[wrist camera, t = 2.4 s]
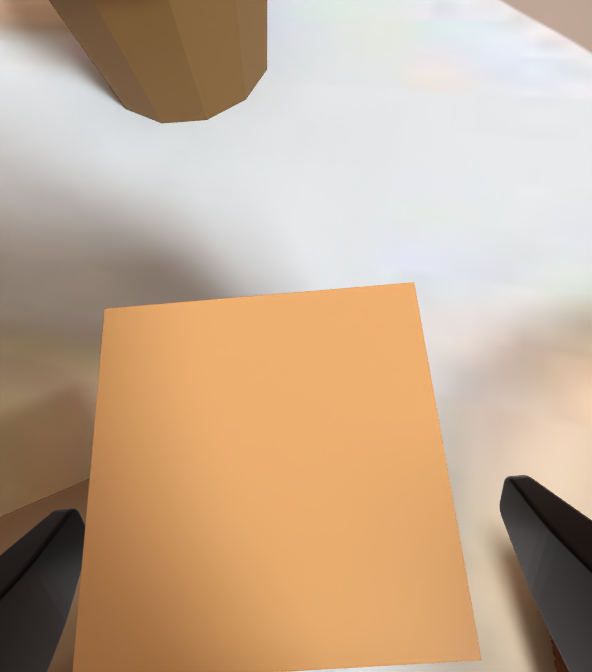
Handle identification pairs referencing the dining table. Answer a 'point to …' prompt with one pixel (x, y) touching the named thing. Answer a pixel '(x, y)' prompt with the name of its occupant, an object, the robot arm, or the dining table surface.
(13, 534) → the end holder
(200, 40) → the flowerpot
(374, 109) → the dining table surface
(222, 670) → the connector plug
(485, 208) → the dining table surface
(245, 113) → the dining table surface
